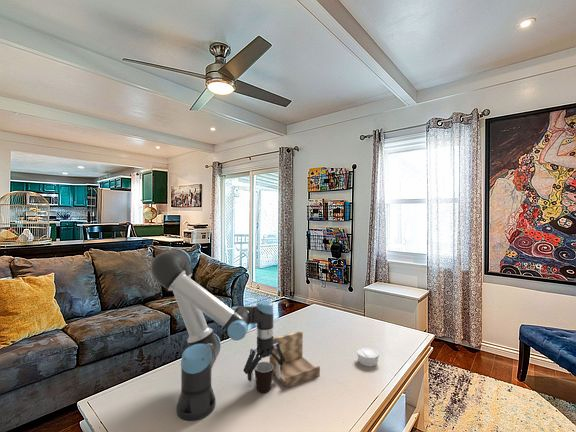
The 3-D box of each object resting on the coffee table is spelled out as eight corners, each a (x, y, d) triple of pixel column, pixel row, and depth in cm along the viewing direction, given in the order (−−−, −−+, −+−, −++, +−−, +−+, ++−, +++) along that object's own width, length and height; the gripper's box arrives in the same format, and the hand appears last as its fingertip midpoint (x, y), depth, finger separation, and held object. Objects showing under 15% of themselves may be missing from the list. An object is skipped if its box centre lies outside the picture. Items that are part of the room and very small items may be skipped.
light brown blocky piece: (286, 388, 129) (286, 353, 129) (269, 370, 143) (269, 338, 143) (319, 375, 139) (320, 343, 139) (300, 360, 153) (301, 330, 153)
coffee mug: (270, 396, 123) (270, 373, 123) (251, 393, 125) (251, 370, 125) (276, 380, 135) (277, 359, 135) (259, 378, 137) (259, 357, 136)
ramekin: (353, 362, 152) (353, 352, 152) (363, 354, 160) (363, 345, 160) (372, 370, 144) (372, 360, 144) (382, 362, 152) (382, 352, 152)
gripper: (242, 346, 120) (242, 395, 120) (292, 332, 133) (292, 377, 133) (236, 339, 126) (236, 386, 127) (284, 327, 139) (284, 370, 140)
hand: (265, 382), depth 130 cm, fingers open, 13 cm apart
